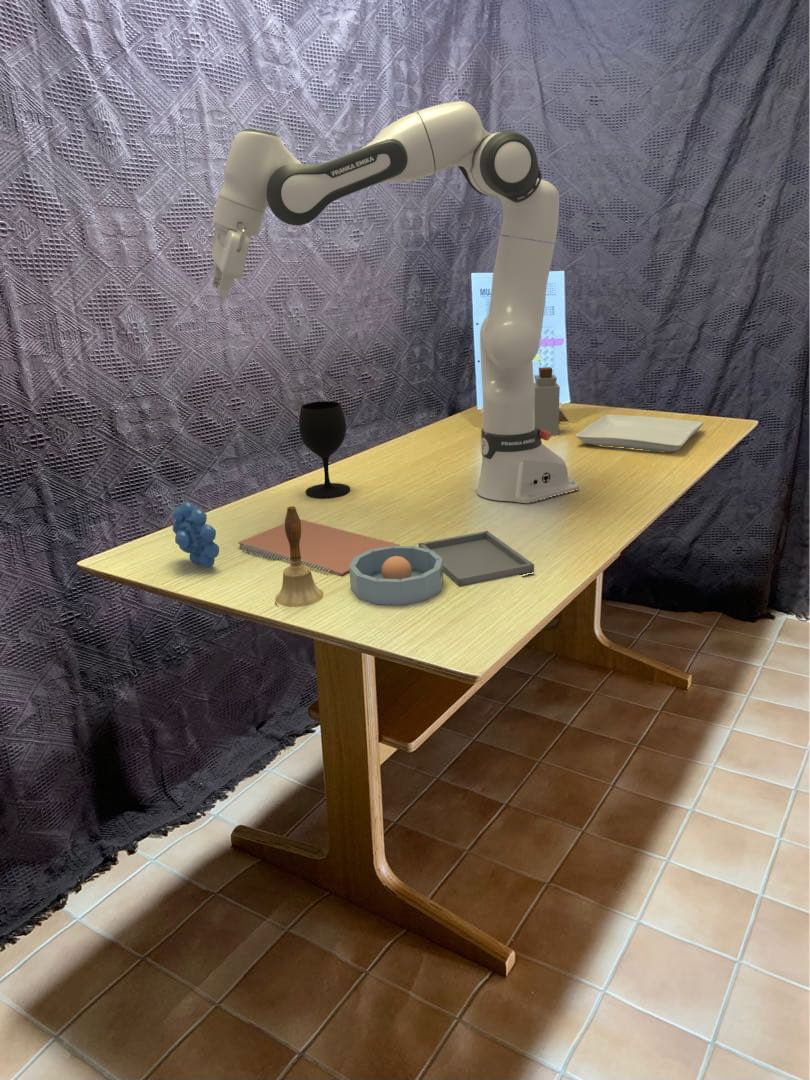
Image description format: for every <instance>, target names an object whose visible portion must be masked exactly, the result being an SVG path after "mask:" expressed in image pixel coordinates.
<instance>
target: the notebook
mask: <svg viewBox="0 0 810 1080" xmlns="http://www.w3.org/2000/svg"><path fill="white" fill-rule="evenodd" d="M300 522H301V538H300V543H299V547H300V556H301V564H302V565H306V566H308V567H309V568H310V570H311V572H315V573H317V574H318V573H320V574H321V575H322V574H323V575H326V576H328V575H329V574H332V575H334V576H335V575H336V576H339V577H341V576H343V575H346V574H347V573H350V571H349V566H350V564H351V562H352V561H353V559H354V557H356V556H358V555H360V554H362V553H364V552H366V551H368V550H371V549H377V548H382V547H388V546H401V544H398V543H395V542H391V541H386V540H382V539H380V538H379V539H378V538H375V537H372V536H367V535H363V534H360V533H355V532H351V531H347V530H344V529H340V528H336V527H332V526H329V525H324V524H320V523H317V522H312V521H308V520H304V519H301V518H300ZM237 544H239V549H241V550H242V553H245V554H248V555H251V556H252V555H255V557H258V558H261V557H262V558H263V559H264V558H265V560H266V559H267V560H268V561H271V562H275V561H279V562H283V563H286V564H289V565H291V559H290V557H291V556H290V545H289V541H288V539H287V536H286V532H285V522H284V523H282V524H280V525H277V526H274V527H272V528H270V529H267V530H265V531H262V532H259V533H258V534H255V535H253V536H249V537H247V538H245V539H242V540H240V541H238V542H237ZM247 550H248V551H247ZM270 557H271V558H270ZM311 568H312V569H311Z"/></svg>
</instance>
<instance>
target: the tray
mask: <svg viewBox="0 0 810 1080" xmlns="http://www.w3.org/2000/svg"><path fill="white" fill-rule="evenodd" d="M418 547H420V548H424V549H428V550H432V551H434V552H435V553H436V554H438V555H439V556H440V557H441V558H442V559H443V574H445V575H446V576H447V577H448V578H449V579H450V580H451V581H452V582H454V583H455V584H456V585H457V586H458V587H463V586H467V585H472V584H476V583H482V582H486V581H487V582H488V581H491V580H497V579H502V578H506V577H510V576H511V577H512V576H517V575H518V576H520V575H523V574H527V573H532V572H534V573H535V563H533V562H532V561H531V560H529V559H527V558H526V557H525V556H524V555H522V554H521V553H519V552H518V551H516V550H515V549H513V548H512V547H510V546H509V545H508V544H506V543H505V542H504V541H502V540H501V539H499V538H498V537H497V536H495V535H494V534H492V533H491V532H489V531H488V530H485V531H480V532H479V531H478V532H475V533H469V534H468V533H467V534H464V535H459V536H458V535H456V536H452V537H447V538H441V539H437V540H430V541H425V542H420V543H418Z"/></svg>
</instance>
